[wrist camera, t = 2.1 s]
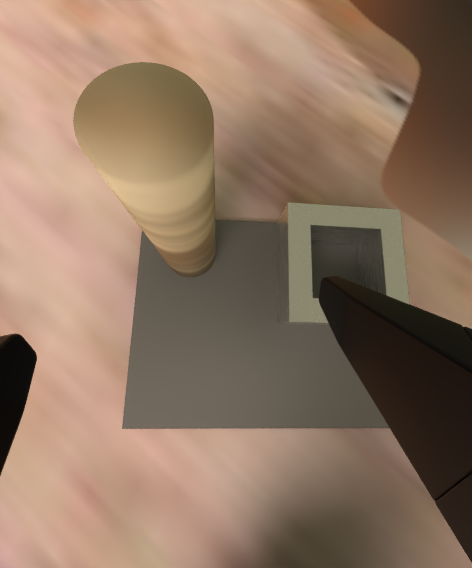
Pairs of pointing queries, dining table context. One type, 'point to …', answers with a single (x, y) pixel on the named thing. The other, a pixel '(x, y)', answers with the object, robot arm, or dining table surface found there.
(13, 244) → the dining table surface
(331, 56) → the dining table surface
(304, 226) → the square socket block
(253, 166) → the dining table surface
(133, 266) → the dining table surface
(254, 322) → the mat
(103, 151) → the pin
